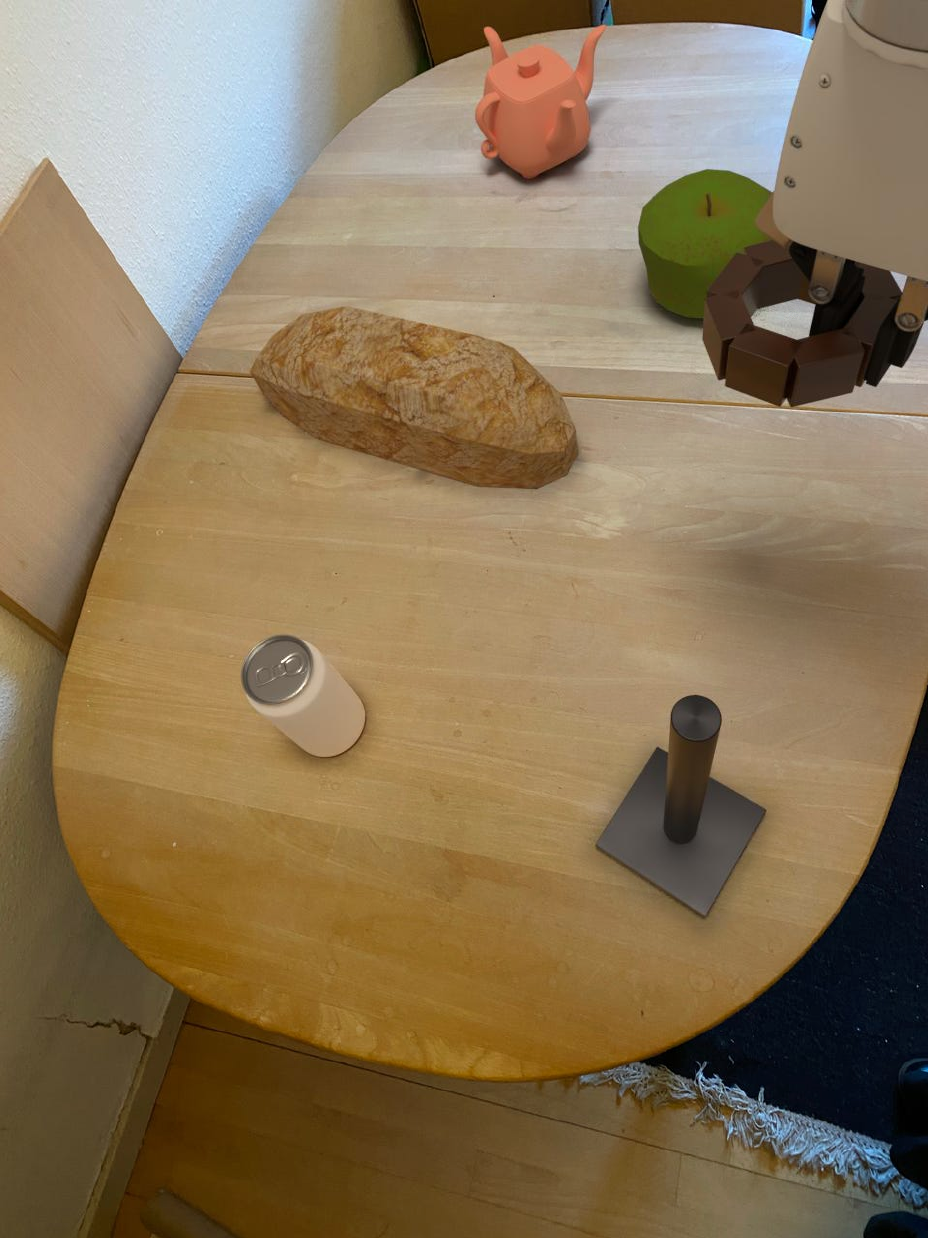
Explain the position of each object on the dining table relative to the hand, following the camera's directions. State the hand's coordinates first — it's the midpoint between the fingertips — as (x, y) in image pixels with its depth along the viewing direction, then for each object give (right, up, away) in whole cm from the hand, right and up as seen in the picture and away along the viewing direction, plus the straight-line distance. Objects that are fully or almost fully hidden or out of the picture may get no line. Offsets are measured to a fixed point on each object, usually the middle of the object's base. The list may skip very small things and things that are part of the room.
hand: (856, 355), depth 43 cm
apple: (+4, +20, +42) cm, 47 cm away
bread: (-26, +7, +42) cm, 50 cm away
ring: (-3, +1, +2) cm, 4 cm away
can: (-32, -23, +29) cm, 49 cm away
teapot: (-10, +43, +57) cm, 72 cm away
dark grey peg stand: (-4, -30, +19) cm, 35 cm away
